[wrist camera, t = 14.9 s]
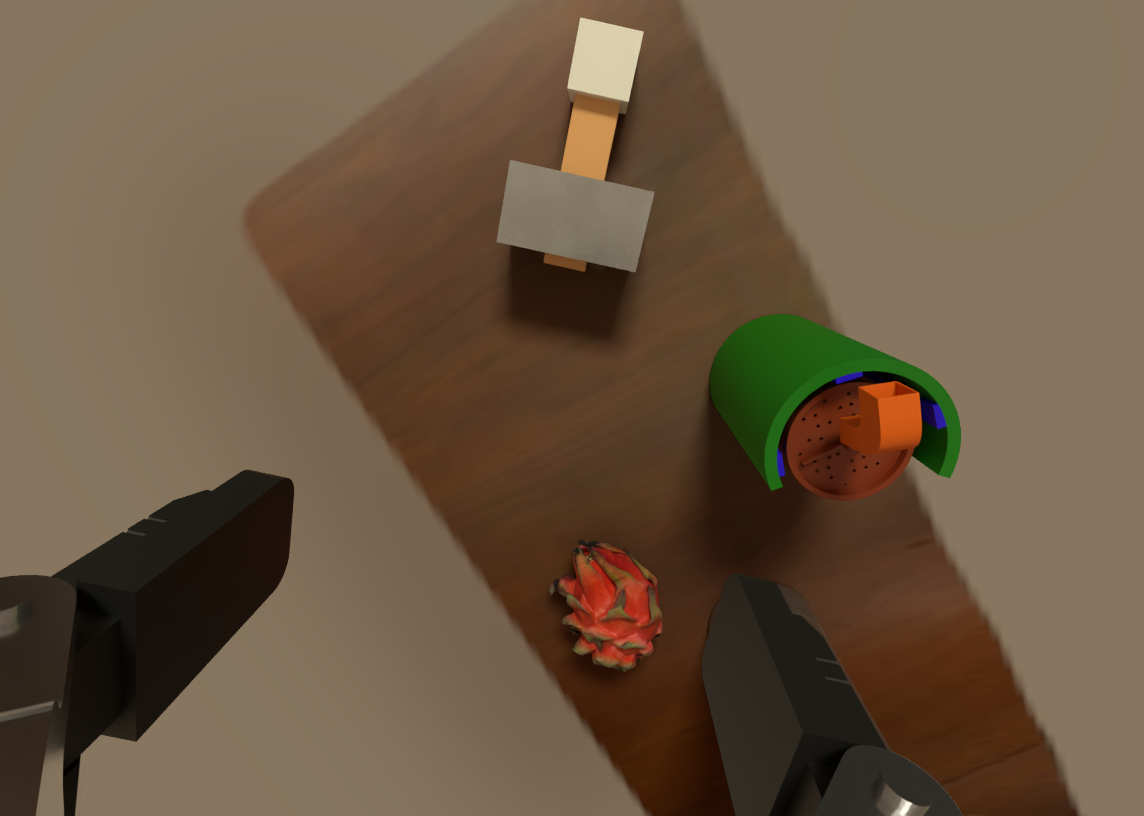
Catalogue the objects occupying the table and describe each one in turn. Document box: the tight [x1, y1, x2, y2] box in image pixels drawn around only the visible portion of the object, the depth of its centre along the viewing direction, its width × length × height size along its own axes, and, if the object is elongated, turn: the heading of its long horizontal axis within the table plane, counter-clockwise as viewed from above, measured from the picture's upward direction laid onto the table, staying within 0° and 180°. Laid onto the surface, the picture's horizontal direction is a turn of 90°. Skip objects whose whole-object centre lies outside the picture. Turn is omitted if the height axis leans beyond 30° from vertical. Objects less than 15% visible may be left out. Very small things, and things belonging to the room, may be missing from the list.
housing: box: [497, 160, 654, 272], centre depth 40 cm, size 5×9×6 cm, turn 78°
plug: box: [543, 18, 643, 272], centre depth 40 cm, size 15×4×4 cm, turn 168°
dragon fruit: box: [549, 540, 662, 672], centre depth 48 cm, size 8×8×12 cm
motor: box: [710, 314, 961, 501], centre depth 36 cm, size 10×9×20 cm
